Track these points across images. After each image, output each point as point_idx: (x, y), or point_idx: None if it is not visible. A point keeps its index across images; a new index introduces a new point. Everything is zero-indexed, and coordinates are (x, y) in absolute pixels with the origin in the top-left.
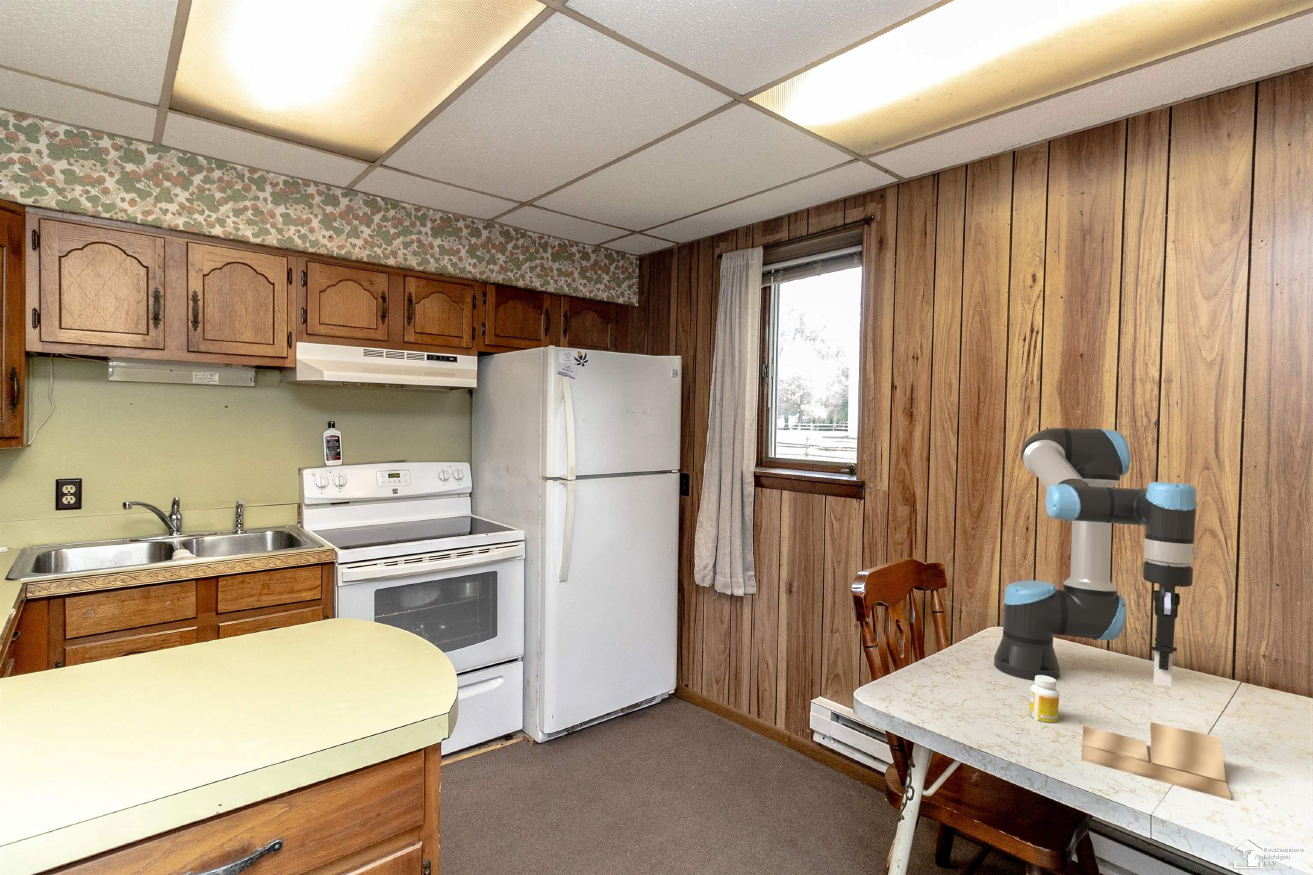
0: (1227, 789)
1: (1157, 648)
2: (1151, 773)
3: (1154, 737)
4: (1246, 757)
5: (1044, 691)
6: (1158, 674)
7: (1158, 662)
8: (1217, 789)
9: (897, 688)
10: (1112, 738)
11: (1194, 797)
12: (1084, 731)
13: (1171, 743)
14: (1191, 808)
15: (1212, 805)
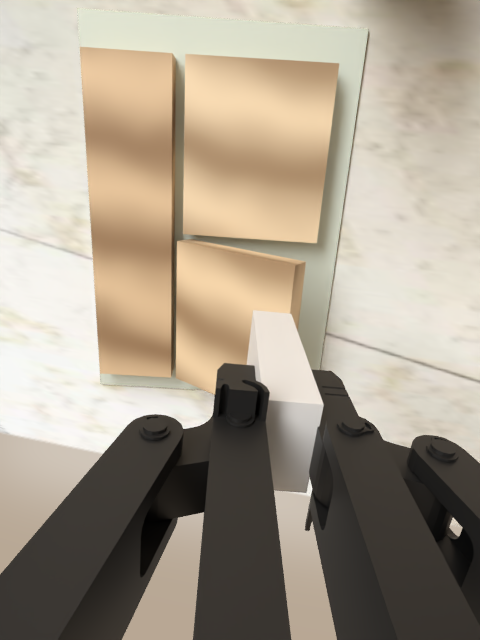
0: (132, 373)
1: (131, 426)
2: (103, 230)
3: (246, 263)
4: (403, 439)
5: None
6: (252, 347)
7: (254, 377)
8: (117, 355)
9: None
10: (284, 152)
11: (95, 305)
12: (291, 65)
13: (236, 301)
14: (30, 291)
15: (80, 332)
